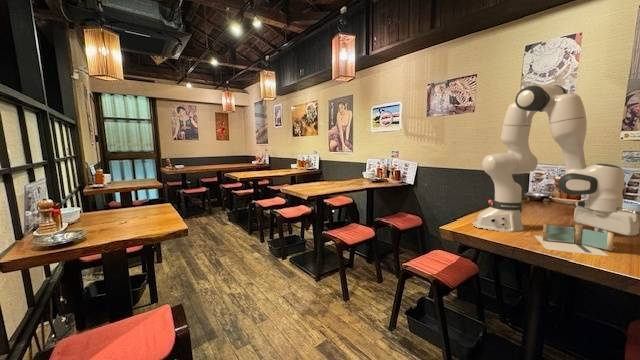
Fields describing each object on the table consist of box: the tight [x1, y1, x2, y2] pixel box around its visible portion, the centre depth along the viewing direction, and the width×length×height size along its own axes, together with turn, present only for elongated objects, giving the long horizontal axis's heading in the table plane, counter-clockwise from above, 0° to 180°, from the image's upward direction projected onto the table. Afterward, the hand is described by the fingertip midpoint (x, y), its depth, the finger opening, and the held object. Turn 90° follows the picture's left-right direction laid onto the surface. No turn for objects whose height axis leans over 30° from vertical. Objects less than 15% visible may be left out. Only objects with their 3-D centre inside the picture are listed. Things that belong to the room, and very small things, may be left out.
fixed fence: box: [542, 222, 584, 245], centre depth 110 cm, size 13×2×8 cm, turn 62°
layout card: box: [533, 235, 609, 257], centre depth 108 cm, size 18×19×1 cm
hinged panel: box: [582, 228, 615, 252], centre depth 102 cm, size 9×2×7 cm, turn 18°
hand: (602, 239), depth 102 cm, fingers closed
